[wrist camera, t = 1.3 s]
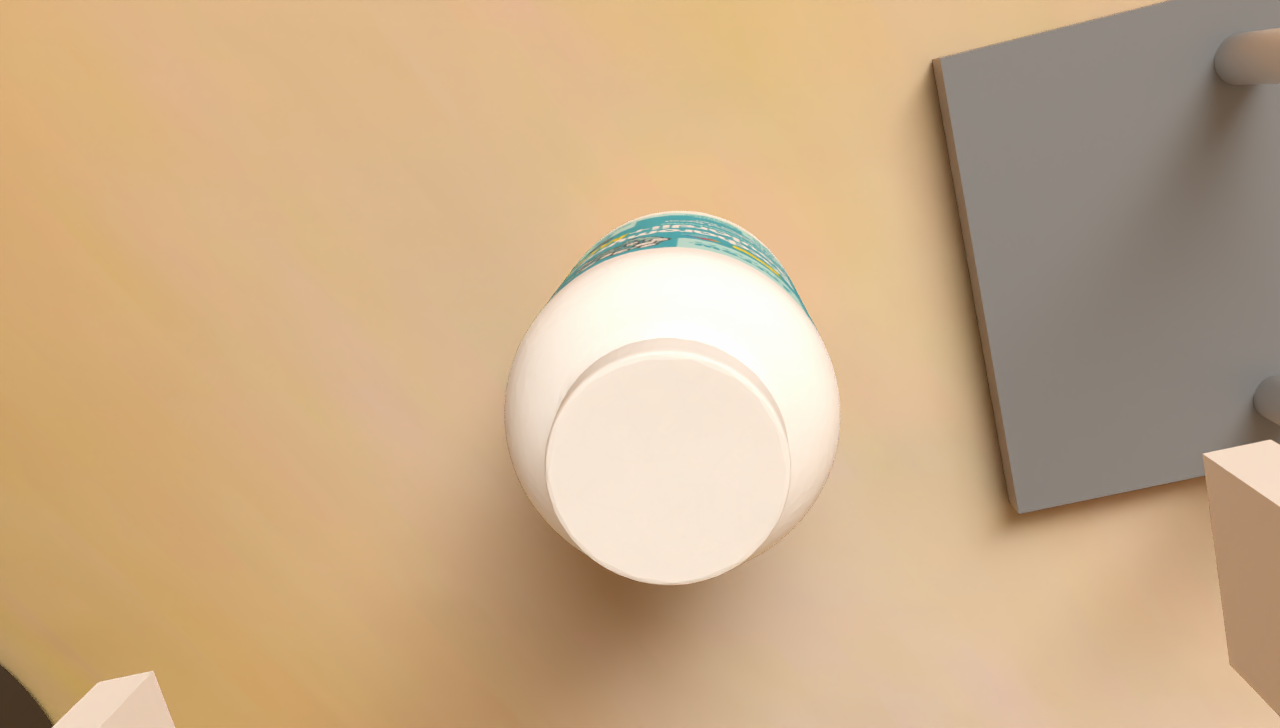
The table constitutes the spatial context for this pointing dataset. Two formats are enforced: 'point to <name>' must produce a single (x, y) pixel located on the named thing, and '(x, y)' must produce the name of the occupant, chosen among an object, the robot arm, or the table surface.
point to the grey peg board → (1123, 241)
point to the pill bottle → (673, 401)
